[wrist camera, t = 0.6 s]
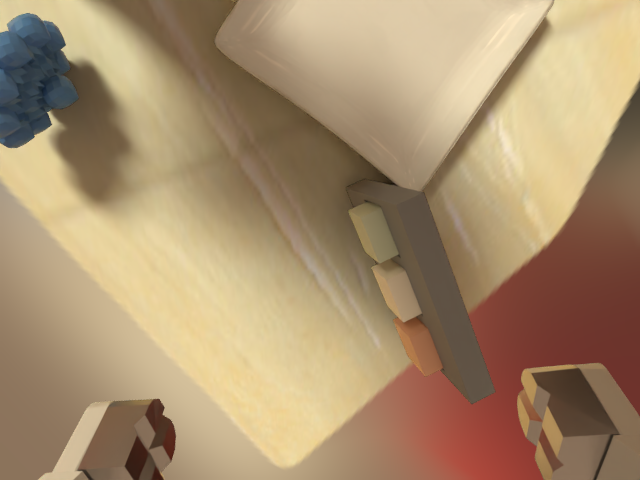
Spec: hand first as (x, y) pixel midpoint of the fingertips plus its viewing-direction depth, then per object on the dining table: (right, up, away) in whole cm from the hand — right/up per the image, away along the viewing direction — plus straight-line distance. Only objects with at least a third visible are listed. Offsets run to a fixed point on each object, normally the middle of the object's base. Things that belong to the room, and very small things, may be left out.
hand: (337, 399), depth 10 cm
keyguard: (+10, +2, +44) cm, 45 cm away
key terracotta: (+10, -6, +38) cm, 40 cm away
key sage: (+5, +5, +35) cm, 36 cm away
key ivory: (+8, -1, +37) cm, 38 cm away
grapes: (-26, +18, +34) cm, 47 cm away
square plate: (+7, +27, +39) cm, 48 cm away
